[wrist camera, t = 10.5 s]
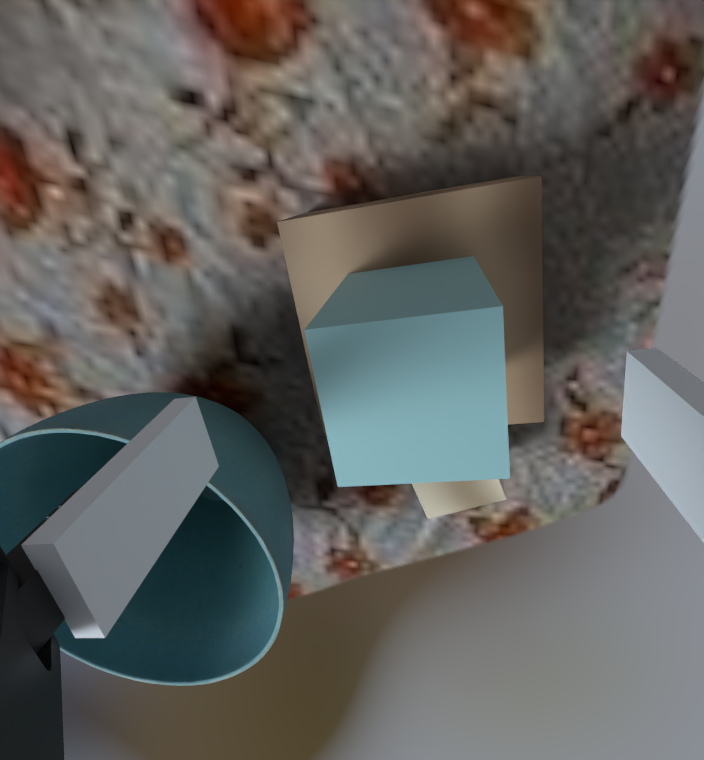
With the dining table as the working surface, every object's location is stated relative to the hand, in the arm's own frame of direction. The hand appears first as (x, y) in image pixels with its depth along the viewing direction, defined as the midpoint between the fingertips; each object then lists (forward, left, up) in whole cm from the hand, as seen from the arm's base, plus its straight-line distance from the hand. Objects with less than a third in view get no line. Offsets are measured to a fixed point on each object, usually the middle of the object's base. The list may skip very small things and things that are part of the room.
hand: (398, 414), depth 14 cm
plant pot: (-17, -10, -16) cm, 25 cm away
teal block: (0, 0, -10) cm, 10 cm away
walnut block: (0, 0, -16) cm, 16 cm away
